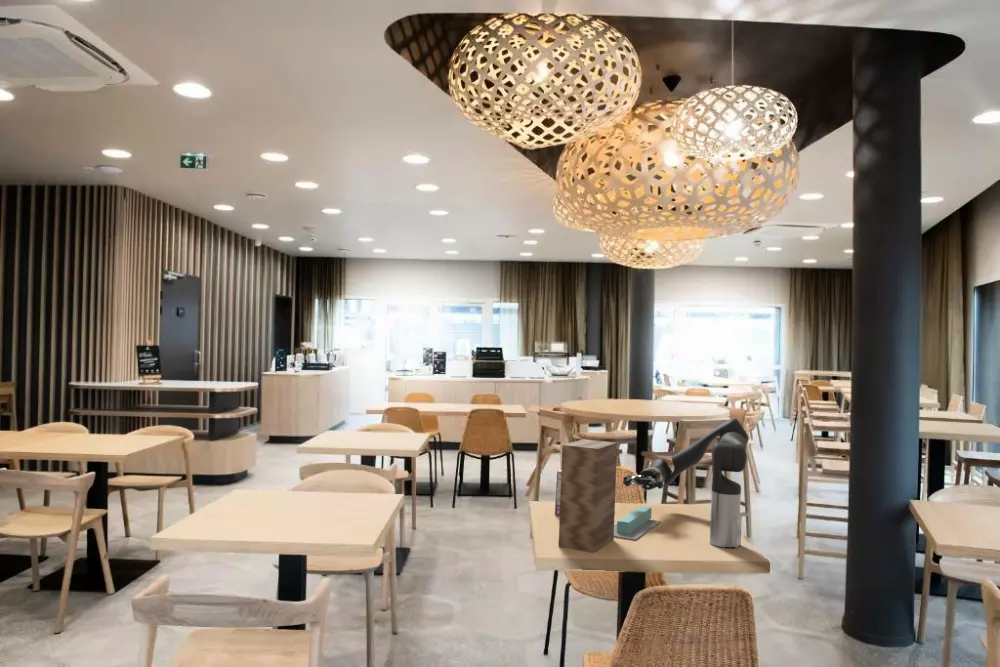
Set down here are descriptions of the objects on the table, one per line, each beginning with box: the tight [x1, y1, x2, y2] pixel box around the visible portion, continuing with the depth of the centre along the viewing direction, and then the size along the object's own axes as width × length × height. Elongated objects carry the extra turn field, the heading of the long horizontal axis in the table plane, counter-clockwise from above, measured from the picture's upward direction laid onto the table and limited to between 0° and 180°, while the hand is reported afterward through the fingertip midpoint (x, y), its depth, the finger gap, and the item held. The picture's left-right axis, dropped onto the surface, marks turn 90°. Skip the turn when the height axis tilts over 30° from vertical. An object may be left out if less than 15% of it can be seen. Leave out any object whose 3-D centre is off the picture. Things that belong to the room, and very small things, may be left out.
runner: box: [614, 519, 661, 542], centre depth 255 cm, size 12×30×1 cm, turn 152°
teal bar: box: [616, 505, 652, 534], centre depth 258 cm, size 4×28×4 cm, turn 152°
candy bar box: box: [554, 469, 561, 516], centre depth 272 cm, size 11×5×16 cm, turn 84°
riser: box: [558, 438, 618, 553], centre depth 234 cm, size 12×18×32 cm, turn 152°
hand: (638, 484), depth 260 cm, fingers open, 8 cm apart
